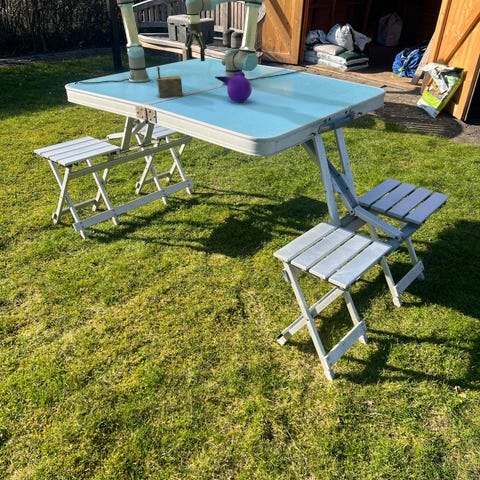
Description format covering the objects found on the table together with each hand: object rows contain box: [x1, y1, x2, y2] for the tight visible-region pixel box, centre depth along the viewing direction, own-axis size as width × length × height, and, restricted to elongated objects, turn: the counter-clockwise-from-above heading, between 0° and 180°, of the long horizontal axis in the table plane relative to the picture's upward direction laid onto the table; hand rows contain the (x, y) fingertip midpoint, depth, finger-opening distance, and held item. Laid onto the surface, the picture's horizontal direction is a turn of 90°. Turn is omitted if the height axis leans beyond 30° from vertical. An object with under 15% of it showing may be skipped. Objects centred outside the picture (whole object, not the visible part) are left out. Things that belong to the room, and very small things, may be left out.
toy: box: [214, 71, 252, 103], centre depth 277 cm, size 16×18×27 cm
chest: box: [156, 79, 184, 99], centre depth 293 cm, size 15×9×10 cm, turn 105°
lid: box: [154, 65, 182, 83], centre depth 289 cm, size 16×9×8 cm, turn 105°
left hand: (194, 37), depth 345 cm, fingers open, 13 cm apart
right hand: (196, 60), depth 284 cm, fingers open, 13 cm apart
